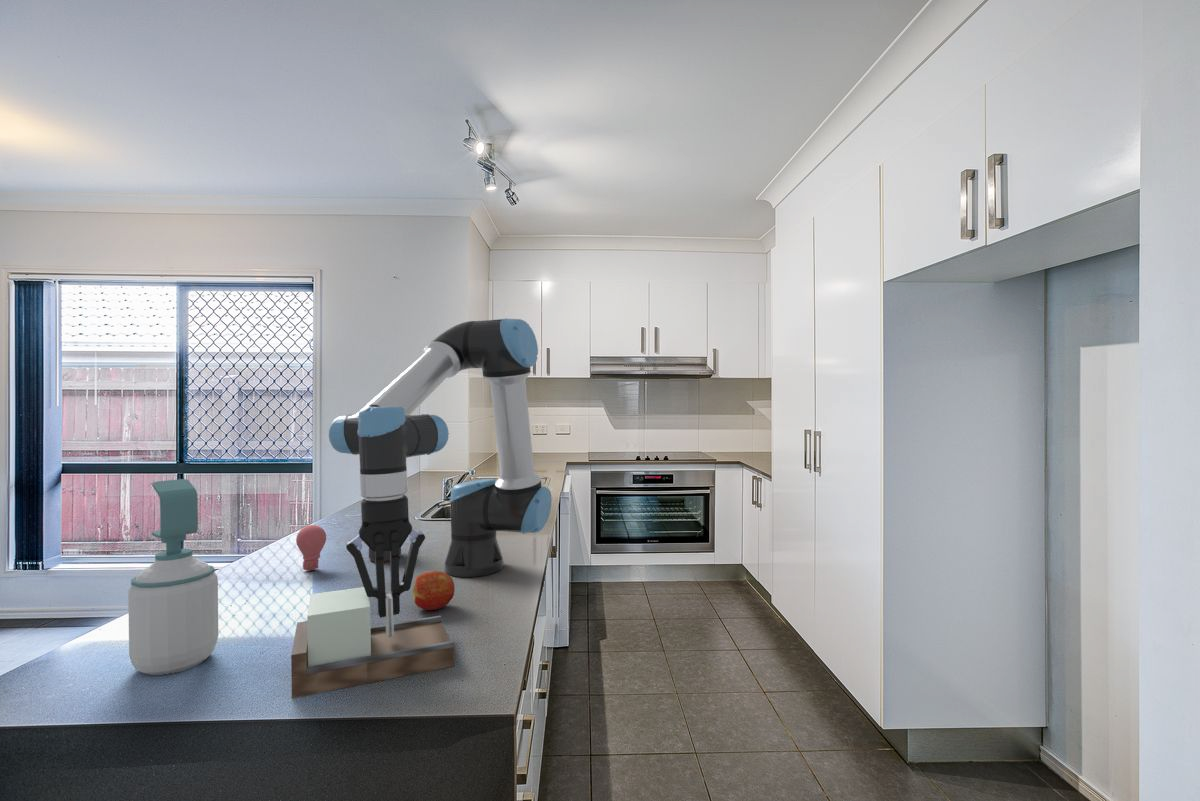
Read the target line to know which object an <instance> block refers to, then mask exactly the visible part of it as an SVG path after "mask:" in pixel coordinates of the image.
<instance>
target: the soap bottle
mask: <svg viewBox="0 0 1200 801" xmlns="http://www.w3.org/2000/svg"><path fill="white" fill-rule="evenodd" d="M152 488H153V489H154V490H155V492H156V494H157V495H158V498H159V505H160V506H159V509H160V511H159V512H160V514H159V516H160V519H159V520H160V521H159V522H160V528H159V529H160V530H159V529H158V530H154V531H152V532H151V536H154V537H155V538H157V539H160V542H161V543H163V544H166V545H165V547H166V550H163V551H160V552H157V553H156V554H154V555H155V556H154V558H155V559H154V562H153V563H151V565H149V566H148V567H146V568H144V569H143V570H142V571H141V572H139V573H138V574H137V576H134V577H133V578H132V579H130V585H129V586H128V592H127V594H128V600H127V602H128V604H127V605H128V656H129V659H130V663H131V664H132V666H133V668H134V670H135V671H139V672H141V673H143V674H146V675H148V674H151V675H150V676H162V675H161V674H166V675H170V674H169V673H172V674H176V673H180V672H183V670H184V671H186V670H189V669H191V667H192V668H194V667H196V666H198V665H200V664H201V663H203V662H204V661H205V660H206V659H207V658H208V657H210V656H211V654H212V653H213V652H214V650H215V648H216V645H217V644H218V640H219V582H218V580H219V579H218V575H217V573H216V570H215V567H214V566H213V565H209V564H208V562H205V561H203V560H202V559H198V558H196V557H194V556H193V549H192V548H182V542H183V541H186V540H187V535H189V534H196V533H197V532H198V529H199V520H198V519H199V512H198V511H199V508H198V492H197V489H196V487H195V486H194V485H193V484H192V483H191V481H190V480H189V479H187V478H185V479H184V478H180V479H168V480H157V481H154V482H152ZM179 671H180V672H179ZM175 672H176V673H175Z"/></svg>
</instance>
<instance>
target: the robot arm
mask: <svg viewBox="0 0 1200 801" xmlns="http://www.w3.org/2000/svg"><path fill="white" fill-rule="evenodd" d="M537 341H538V340H537V337H536V335H535V333H534V330H533V329H532V327H531V326H530V324H529V323H527V321H525V320H523V319H521V318H502V319H501V318H499V319H487V320H476V321H475V320H470V321H464V322H461V323H459V324H456V325H454V326H452V327H450V328H448V329H446V330H445V331H443V332H442V333H440V334H438V335H437V336H436V337H435V338H433V339H432V340H431V341H430V342H429V343H427V345H426V346H425V347H424V348H423V352H422V355H421V356H420V357H418V358H417V359H416V360H415V361H414V362H413V363H412V364H411V365H410V366H409V367H408V368H406V369H405V370H404V371H403V372H401V373H400V374H399V375H398V376H397V377H396V378H394V380H393V381H392V382H390V384H388V386H386V387H385V388H384V389H383V390H381V391H380V392H379V393H378V394H377V395H376V396H375V397H373V398H372V399H371V400H370V401H369V402H368V403H367V404H366V405H365V406H364V407H363V408H361V409H360V410H359V411H358V412H357V413H355V414H353V415H352V414H346V415H341V416H338V417H336V418H335V419H334V420H333V421H332V422H331V424H330V427H329V428H328V440H329V442H330V445H331V447H332V448H333V450H334V451H336V452H338V453H341V454H349V455H355V456H358V455H359V471H360V472H359V485H360V486H359V487H360V497H362V498H363V499H362V501H360V509H361V510H360V511H361V513H360V514H361V527H360V529H359V531H358V534H357V536H355V537H354V538H353V539H350V540H348V541H346V544H345V548H346V551H348V552H349V554H350V555H351V556H352V557H353V559H354V562H355V565H356V568H357V570H358V574H359V577H360V579H361V582H362V587H364V589H365V592H366V595H367V596H368V597H369V598H371V597H372V598H376V600H377V613H378V616H379V618H384V617H385V624H386V634H387V638H388V637H393V636H394V623H395V622H394V616H395V615H396V616H397V615H399V614H400V612H401V608H400V607H401V606H400V604H401V601H400V597H401V594H403V593H404V592H408V591H410V590H411V586H412V582H413V577H414V573H415V568H416V564H417V560H418V555H419V550H420V548H421V546H422V545H423V543H424V541H425V540H426V536H425V534H424V533H423V532H422V531H418V530H416V529H414V528H413V525H412V523H411V522H410V519H409V518H410V516H409V498H408V496H407V495H405V494H407V493H408V492H409V491H408V472H407V471H408V470H407V459H408V458H411V457H417V456H423V455H424V456H425V455H428V456H429V455H431V454H433V453H437V452H439V451H441V450H442V449H444V447H445V446H446V445H447V443H448V440H449V433H450V432H449V429H448V428H449V427H448V425H447V423H446V422H445V420H444V419H443V418H442V417H440V416H438V415H436V414H428V413H427V414H425V413H424V414H417V415H415V414H413V413H414V411H416V410H417V408H418V407H420V405H421V404H422V403H424V401H426V399H427V398H428V397H429V396H430V395H431V394H432V393H433V392H434V391H436V389H437V388H439V386H440V385H441V384H442V383H443V382H444V381H445V380H446V379H450V378H452V377H454V376H456V375H457V374H458V373H459V372H461V371H464V370H465V371H466V370H469V369H482V378H484V379H485V381H488V382H489V385H490V394H491V403H492V413H493V422H494V430H495V440H496V442H495V443H496V449H497V459H498V470H499V477H498V478H497V479H494V478H485V479H476V480H471V481H465V482H460V483H457V484H455V485H453V486H452V488H451V491H450V500H449V504H450V533H451V534H450V535H451V536H450V545H449V548H448V550H447V553H446V556H445V560H444V573H446V574H448V575H449V576H452V577H460V578H462V577H463V578H474V577H482V576H487V575H488V576H489V575H492V574H496V573H497V572H500V571H501V570H503V569H504V556H503V553H502V551H501V548H500V545H499V542H498V539H497V532H506V533H507V532H508V533H520V534H523V535H524V534H528V533H529V534H530V533H531V534H536V533H539V532H541V531H542V530H543V529H544V528H545V526H546V524H547V522H548V520H549V517H550V515H551V509H552V502H553V499H552V498H553V497H552V492H551V490H550V488H548V487H547V486H542V478H541V476H540V475H539V474H537V473H536V472H535V468H534V466H535V465H534V456H533V446H532V444H533V443H532V435H531V425H530V415H529V405H528V396H527V385H526V384H527V382H526V380H527V378H528V377H529V376H530V374H531V372H532V371H531V367H533V366H535V365H536V363H537V360H538V354H539V349H538V348H539V347H538V342H537ZM412 414H413V415H412ZM409 536H410V537H409ZM408 537H409V541H410V546H409V549H408V555H407V557H406V562H405V567H404V572H403V575H402V581H401V582H400V557H399V548H401V549H402V547H403V545H404V544H405V542H406V540H407V538H408ZM362 542H364V544H366V546H367V547H368V549H369V548H370V549H371V550H372V551H373V552H375V562H374V563H375V577H376V578H375V580H376V587H374V586H373V584H372V581H371V577H370V574H369V572H368V569H367V565H366V563H365V560H364V556H363V554H362V551H361V550H362V549H363V544H362ZM386 551H390V561H389V565H390V566H389V567H390V571H389V572H390V573H389V574H390V593H387V592H386V579H385V562H384V553H383V552H386Z"/></svg>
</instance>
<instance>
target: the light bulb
mask: <svg viewBox="0 0 1200 801" xmlns="http://www.w3.org/2000/svg"><path fill="white" fill-rule="evenodd" d="M295 539H296V540H295V541H296V542H295V543H296V545H297V547H298V548H297V549H298V550H299V551H300V552H301V554H302V559H303V561H302V570H304V571H308V572H312V571H314V570H316V569H318V568H319V564H320V562H319V559H320V558H321V552H322V550H323V548H324V547H325V544H326V541H327V534H326V531H325V529H323V527H321V526H320V525H316V524H309V525H306V526H304V527H302V528H301V529H300V530H299V532H298V533H297V535H296V538H295Z"/></svg>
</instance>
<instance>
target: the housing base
mask: <svg viewBox="0 0 1200 801" xmlns="http://www.w3.org/2000/svg"><path fill="white" fill-rule="evenodd" d="M294 634H295V635H294V637H293V643H292V648H291V656H290V659H291V661H290V662H291V665H290V666H291V675H290V676H291V699H296V698H301V697H306V696H310V695H315V694H321V693H325V692H330V691H334V690H341V689H345V688H350V687H355V686H360V685H365V684H370V683H371V684H372V683H376V682H381V681H385V680H390V679H395V678H401V677H404V676H405V677H407V676H410V675H411V676H412V675H415V674H420V673H425V672H431V671H434V670H440V669H445V668H451V667H455V643H454V640H451V639H450V636H449V634H448V631H447V630H446V628H445V625H444V623H443V622H442V615H436V616H430V617H422V618H417V619H411V620H406V621H399V622H394V636H393V637H388V638H387V634H386V623H384V624H381V625H380V624H379V625H374V626H371V656H366V657H360V658H355V659H349V660H344V661H338V662H333V663H327V664H322V665H316V666H311V667H308V629H307V620H305V621H299V622H297V624H296V627H295V632H294Z"/></svg>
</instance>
